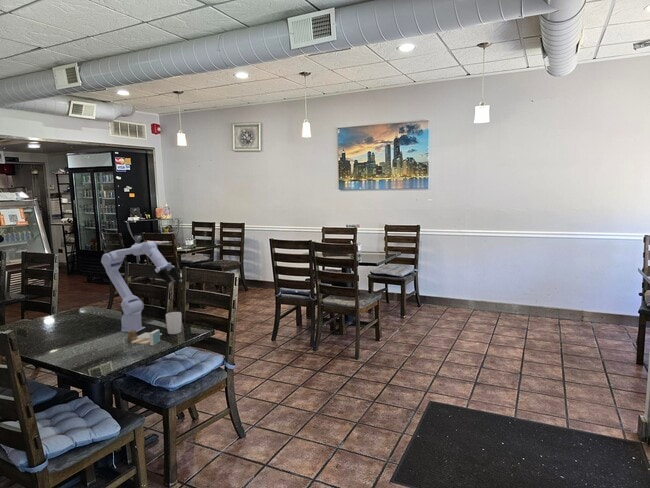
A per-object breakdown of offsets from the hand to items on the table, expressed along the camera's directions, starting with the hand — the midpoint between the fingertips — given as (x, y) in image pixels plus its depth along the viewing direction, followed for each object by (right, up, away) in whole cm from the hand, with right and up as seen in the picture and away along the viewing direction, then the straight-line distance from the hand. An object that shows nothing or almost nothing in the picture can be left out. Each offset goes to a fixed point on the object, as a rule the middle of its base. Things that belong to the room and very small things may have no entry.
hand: (174, 281), depth 218 cm
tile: (-7, -30, -9) cm, 31 cm away
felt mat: (-14, -28, +2) cm, 31 cm away
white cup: (-3, -28, +8) cm, 29 cm away
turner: (-15, -29, -6) cm, 34 cm away
